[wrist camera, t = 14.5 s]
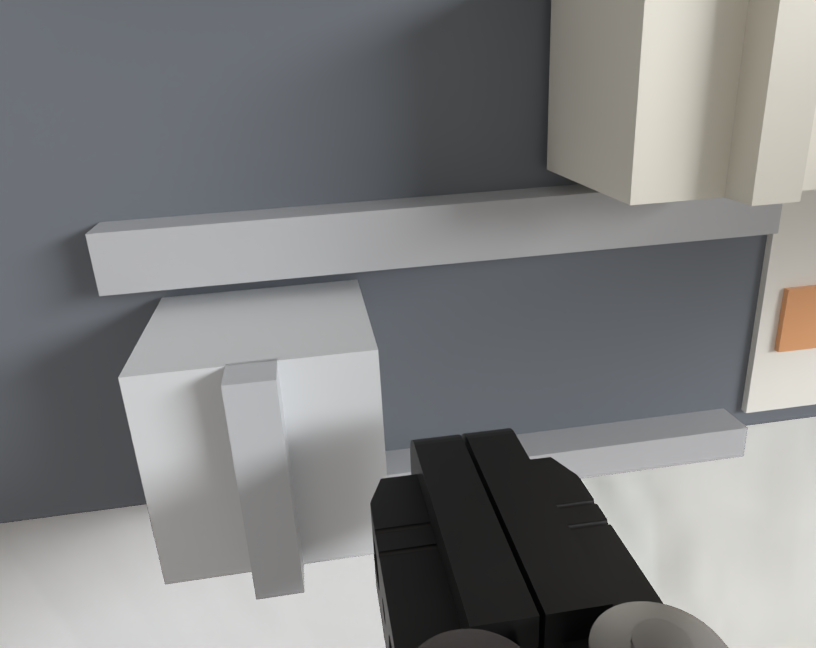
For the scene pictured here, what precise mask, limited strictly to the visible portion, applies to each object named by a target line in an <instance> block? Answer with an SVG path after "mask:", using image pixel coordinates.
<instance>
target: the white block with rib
mask: <svg viewBox="0 0 816 648" xmlns="http://www.w3.org/2000/svg"><path fill="white" fill-rule="evenodd" d="M118 379H119V384H120V388H121V393H122V397H123V401H124V406H125V410H126V415H127V419H128V423H129V428H130V432H131V437H132V441H133V445H134V450H135V454H136V459H137V463H138V467H139V472H140V476H141V481H142V485H143V489H144V494H145V498H146V503H147V507H148V511H149V516H150V520H151V525H152V529H153V533H154V538H155V542H156V547H157V551H158V555H159V560H160V564H161V569H162V573H163V577H164V582H165V584H171V583H178V582H185V581H192V580H199V579H205V578H212V577H219V576H226V575H233V574H240V573H246V572H252V576H253V582H254V588H255V594H256V600H257V599H264V598H270V597H277V596H283V595H290V594H297V593H303V592H304V564H308V563H315V562H322V561H329V560H335V559H342V558H349V557H356V556H363V555H370V554H374V548H373V535H372V522H371V509H370V502H371V500H372V497H373V495H374V493H375V491H376V488H377V486H378V484H379V482H380V479H382V478H387V468H386V454H385V439H384V425H383V411H382V397H381V382H380V368H379V354H378V347H377V344H376V341H375V337H374V334H373V330H372V327H371V324H370V320H369V317H368V314H367V310H366V307H365V304H364V300H363V297H362V293H361V290H360V287H359V283H358V280H357V279H356V280H346V281H335V282H324V283H314V284H303V285H292V286H282V287H271V288H260V289H250V290H239V291H228V292H218V293H207V294H196V295H186V296H175V297H164V298H162V299H161V300H160V302H159V304H158V306H157V308H156V309H155V311H154V313H153V315H152V317H151V319H150V320H149V322H148V324H147V326H146V328H145V330H144V331H143V333H142V335H141V337H140V339H139V341H138V342H137V344H136V346H135V348H134V350H133V351H132V353H131V355H130V357H129V359H128V361H127V362H126V364H125V366H124V368H123V370H122V372H121V373H120V375H119V377H118Z"/></svg>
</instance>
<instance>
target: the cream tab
mask: <svg viewBox="0 0 816 648" xmlns="http://www.w3.org/2000/svg"><path fill="white" fill-rule="evenodd" d="M547 170H549V171H551V172H554V173H556V174H558V175H561V176H563V177H565V178H568V179H570V180H572V181H575V182H577V183H579V184H582V185H584V186H586V187H589V188H591V189H593V190H596V191H598V192H600V193H602V194H605V195H607V196H609V197H612V198H614V199H616V200H619V201H621V202H623V203H626V204H628V205H640V204H652V203H664V202H676V201H687V200H699V199H711V198H723V197H725V198H728V199H731V200H734V201H737V202H741V203H744V204H747V205H750V206H758V205H769V204H781V203H792V202H800V199H801V193H802V191H806V190H816V0H551V28H550V66H549V104H548V141H547Z"/></svg>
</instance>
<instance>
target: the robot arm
mask: <svg viewBox="0 0 816 648" xmlns="http://www.w3.org/2000/svg"><path fill="white" fill-rule="evenodd" d="M410 461H411V475H406V476H398V477H390V478H382V479H380V482H379V484H378V486H377V488H376V491H375V493H374V495H373V497H372V500H371V502H370V509H371V522H372V535H373V548H374V561H375V574H376V587H377V593H378V600H379V606H380V613H381V618H382V625H383V632H384V638H385V644H386V648H728V647H727V645H726V644H725V643H724V642H723V641H722V639H721V638H720V637H719V636H718V635H717V634H716V633H715V632H714V631H713V630H712V629H711V628H710V627H708V626H707V625H706V624H705V623H704V622H702V621H701V620H699V619H697V618H696V617H694V616H693V615H691V614H689V613H687V612H685V611H683V610H680V609H678V608H675V607H672V606H669V605H665V604H663V603H662V601H661V600H660V598H659V597H658V595H657V594H656V592H655V591H654V589H653V588H652V586H651V585H650V583H649V581H648V580H647V578H646V577H645V575H644V574H643V572H642V571H641V569H640V568H639V566H638V565H637V563H636V562H635V560H634V559H633V557H632V556H631V554H630V553H629V551H628V550H627V548H626V547H625V545H624V544H623V542H622V541H621V539H620V538H619V536H618V535H617V533H616V532H615V530H614V529H613V527H612V526H611V525H608V523H607V518H606V517H605V515H604V514H603V512H602V511H601V509H600V508H599V506H598V505H597V504H594V499H593V497H592V496H591V494H590V493H589V491H588V490H587V488H586V487H585V485H584V484H583V482H582V481H581V479H580V478H579V476H578V475H577V474H575V473H574V472H572V471H571V470H569V469H568V468H566V467H565V466H563V465H562V464H560V463H559V462H558V461H556V460H555V459H553V458H552V457H546V458H538V459H530V458H529V456H528V455H527V453H526V451H525V450H524V448H523V446H522V444H521V443H520V441H519V439H518V437H517V436H516V434H515V432H514V431H513V430H512V429H511V428H505V429H497V430H489V431H480V432H472V433H464V434H462V435H460V434H457V435H449V436H440V437H432V438H424V439H416V440H411V443H410Z"/></svg>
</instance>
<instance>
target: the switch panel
mask: <svg viewBox="0 0 816 648" xmlns="http://www.w3.org/2000/svg"><path fill="white" fill-rule="evenodd" d="M550 28H551V0H0V523H6V522H14V521H21V520H29V519H37V518H44V517H52V516H59V515H67V514H75V513H82V512H90V511H98V510H105V509H113V508H121V507H128V506H136V505H143V504H147V503H146V498H145V494H144V489H143V485H142V481H141V476H140V472H139V467H138V463H137V459H136V454H135V450H134V445H133V441H132V437H131V432H130V428H129V423H128V419H127V415H126V410H125V406H124V401H123V397H122V393H121V388H120V384H119V379H118V377H119V375H120V373H121V372H122V370H123V368H124V366H125V364H126V362H127V361H128V359H129V357H130V355H131V353H132V351H133V350H134V348H135V346H136V344H137V342H138V341H139V339H140V337H141V335H142V333H143V331H144V330H145V328H146V326H147V324H148V322H149V320H150V319H151V317H152V315H153V313H154V311H155V309H156V308H157V306H158V304H159V302H160V300H161V299H162V298H164V297H175V296H186V295H196V294H207V293H218V292H228V291H239V290H250V289H260V288H271V287H282V286H292V285H303V284H314V283H324V282H335V281H346V280H356V279H357V280H358V283H359V287H360V290H361V293H362V297H363V300H364V304H365V307H366V310H367V314H368V317H369V320H370V324H371V327H372V330H373V334H374V337H375V341H376V344H377V347H378V354H379V368H380V382H381V397H382V411H383V425H384V439H385V454H386V468H387V478H390V477H398V476H406V475H411V461H410V443H411V440H416V439H424V438H432V437H440V436H449V435H457V434H460V435H462V434H464V433H472V432H480V431H489V430H497V429H505V428H511V429H512V430H513V431H514V432H515V434H516V436H517V437H518V439H519V441H520V443H521V444H522V446H523V448H524V450H525V451H526V453H527V455H528V456H529V458H530V459H538V458H546V457H552V458H553V459H555V460H556V461H558V462H559V463H560V464H562V465H563V466H565V467H566V468H568V469H569V470H571V471H572V472H574V473H575V474H577V475H578V476H579V478H580V479H581V478H589V477H596V476H603V475H610V474H618V473H625V472H632V471H640V470H647V469H654V468H661V467H669V466H676V465H683V464H691V463H698V462H705V461H712V460H720V459H727V458H734V457H742V456H744V449H745V443H746V436H747V430H748V428H747V427H746V426H747V425H754V424H762V423H769V422H777V421H785V420H792V419H800V418H808V417H815V416H816V190H806V191H802V193H801V199H800V202H792V203H781V204H769V205H758V206H750V205H747V204H744V203H741V202H737V201H734V200H731V199H728V198H725V197H723V198H711V199H699V200H687V201H676V202H664V203H652V204H640V205H628V204H626V203H623V202H621V201H619V200H616V199H614V198H612V197H609V196H607V195H605V194H602V193H600V192H598V191H596V190H593V189H591V188H589V187H586V186H584V185H582V184H579V183H577V182H575V181H572V180H570V179H568V178H565V177H563V176H561V175H558V174H556V173H554V172H551V171H549V170H547V141H548V104H549V66H550ZM147 508H148V507H147ZM148 513H149V511H148ZM149 517H150V516H149ZM150 521H151V520H150ZM151 526H152V525H151ZM152 530H153V529H152ZM153 535H154V533H153Z"/></svg>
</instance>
